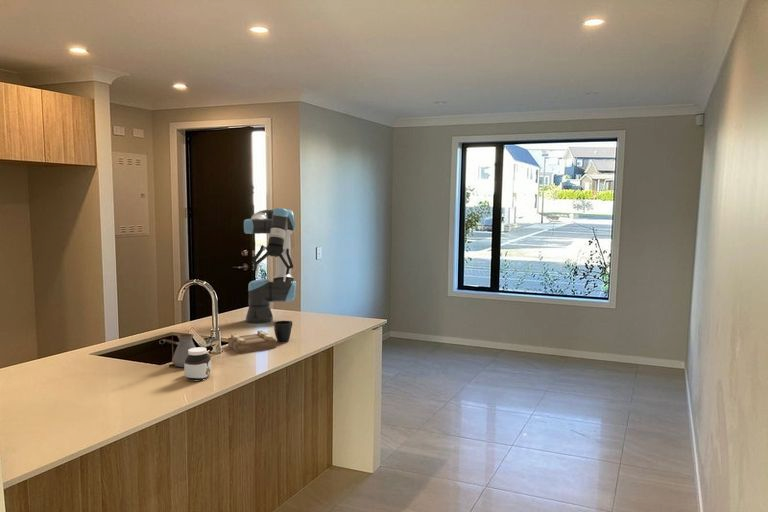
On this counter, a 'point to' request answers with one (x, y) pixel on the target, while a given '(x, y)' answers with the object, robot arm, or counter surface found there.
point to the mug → (282, 330)
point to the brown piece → (251, 342)
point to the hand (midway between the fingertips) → (270, 279)
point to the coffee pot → (181, 348)
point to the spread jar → (197, 364)
